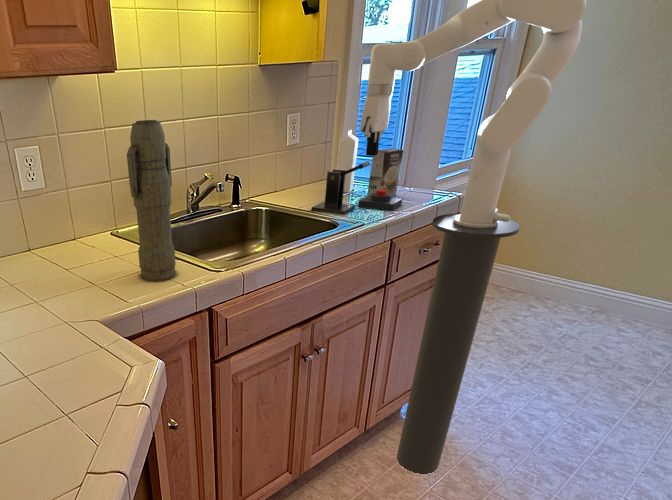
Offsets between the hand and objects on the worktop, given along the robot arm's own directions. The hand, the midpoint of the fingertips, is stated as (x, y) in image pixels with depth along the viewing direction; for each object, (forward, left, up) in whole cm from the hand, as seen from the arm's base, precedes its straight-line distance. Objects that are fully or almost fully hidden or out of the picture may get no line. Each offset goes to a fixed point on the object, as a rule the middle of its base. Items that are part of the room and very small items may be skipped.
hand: (371, 155), depth 162 cm
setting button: (-2, -9, -14) cm, 17 cm away
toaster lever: (+5, +3, -6) cm, 9 cm away
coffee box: (+3, -25, -18) cm, 31 cm away
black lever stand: (+10, +3, -18) cm, 21 cm away
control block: (-2, -9, -18) cm, 20 cm away
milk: (+19, -27, -18) cm, 37 cm away
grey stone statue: (+20, +84, -18) cm, 88 cm away
